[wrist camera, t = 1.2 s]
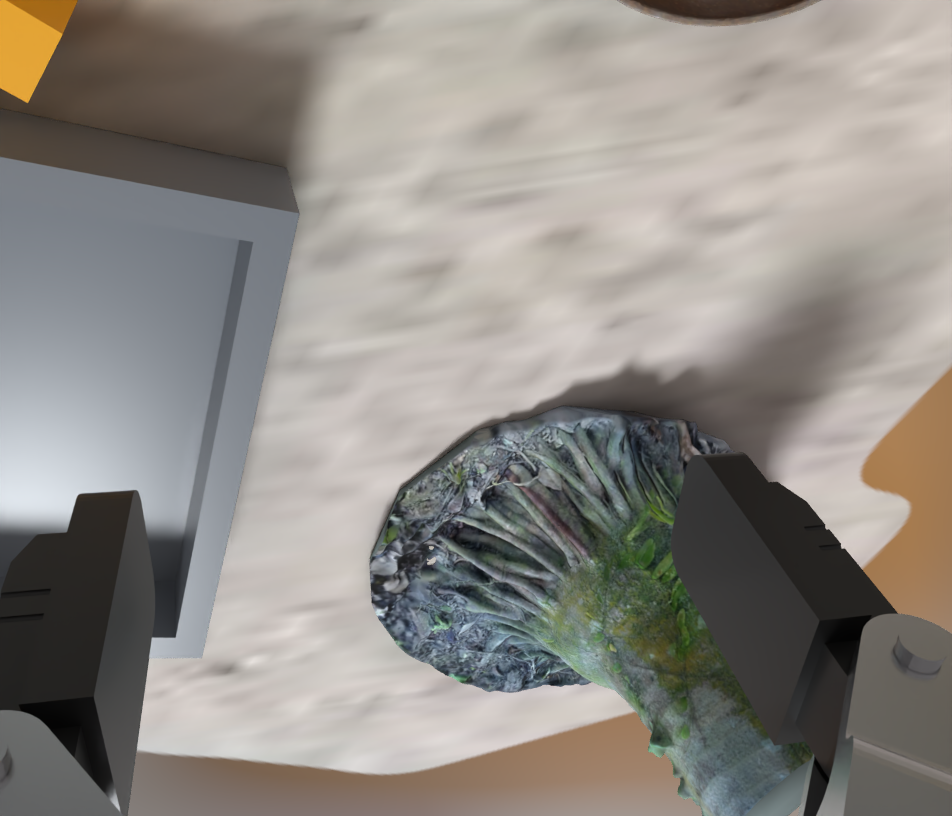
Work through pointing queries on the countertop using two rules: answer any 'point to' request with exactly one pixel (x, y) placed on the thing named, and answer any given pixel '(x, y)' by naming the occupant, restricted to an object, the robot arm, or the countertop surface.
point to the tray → (135, 342)
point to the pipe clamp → (29, 41)
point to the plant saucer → (717, 10)
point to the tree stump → (579, 590)
